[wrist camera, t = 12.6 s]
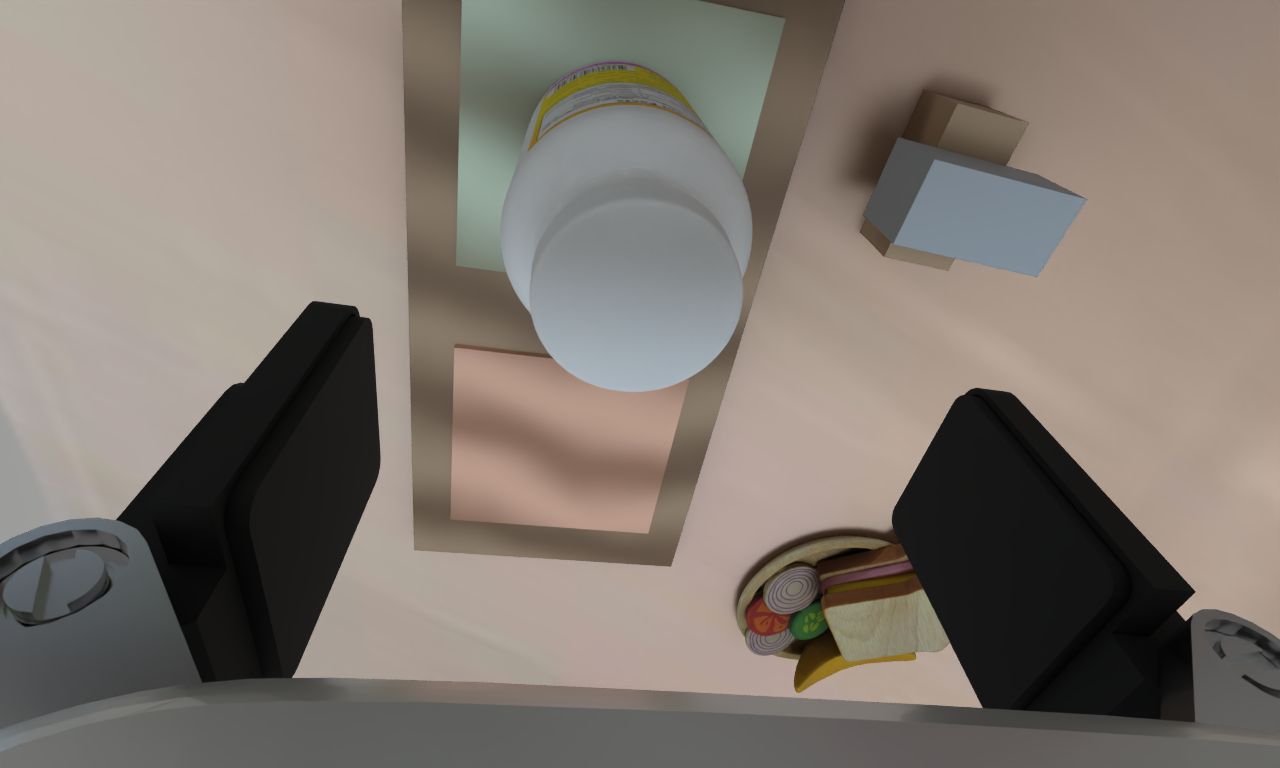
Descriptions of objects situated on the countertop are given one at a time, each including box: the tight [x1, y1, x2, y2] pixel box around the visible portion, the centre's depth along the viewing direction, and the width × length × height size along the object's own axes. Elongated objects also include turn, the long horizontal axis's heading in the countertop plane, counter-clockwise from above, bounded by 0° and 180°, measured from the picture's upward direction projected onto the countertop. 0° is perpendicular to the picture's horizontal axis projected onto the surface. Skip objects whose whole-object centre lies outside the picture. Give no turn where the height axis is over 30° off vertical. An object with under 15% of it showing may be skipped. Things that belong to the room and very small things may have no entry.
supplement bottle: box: [500, 61, 752, 392], centre depth 19 cm, size 7×7×13 cm
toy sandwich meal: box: [737, 536, 950, 693], centre depth 41 cm, size 12×14×5 cm
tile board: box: [402, 0, 845, 566], centre depth 29 cm, size 32×15×1 cm, turn 170°
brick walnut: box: [860, 90, 1029, 271], centre depth 26 cm, size 6×3×3 cm, turn 166°
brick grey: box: [863, 137, 1087, 277], centre depth 23 cm, size 6×3×3 cm, turn 76°
